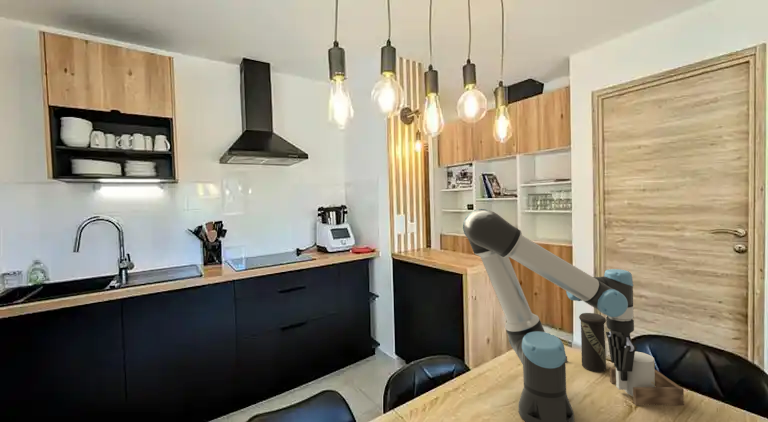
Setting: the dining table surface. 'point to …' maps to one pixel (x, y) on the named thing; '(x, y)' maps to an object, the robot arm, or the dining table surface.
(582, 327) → the container
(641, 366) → the white cylinder
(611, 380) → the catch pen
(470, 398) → the dining table surface
